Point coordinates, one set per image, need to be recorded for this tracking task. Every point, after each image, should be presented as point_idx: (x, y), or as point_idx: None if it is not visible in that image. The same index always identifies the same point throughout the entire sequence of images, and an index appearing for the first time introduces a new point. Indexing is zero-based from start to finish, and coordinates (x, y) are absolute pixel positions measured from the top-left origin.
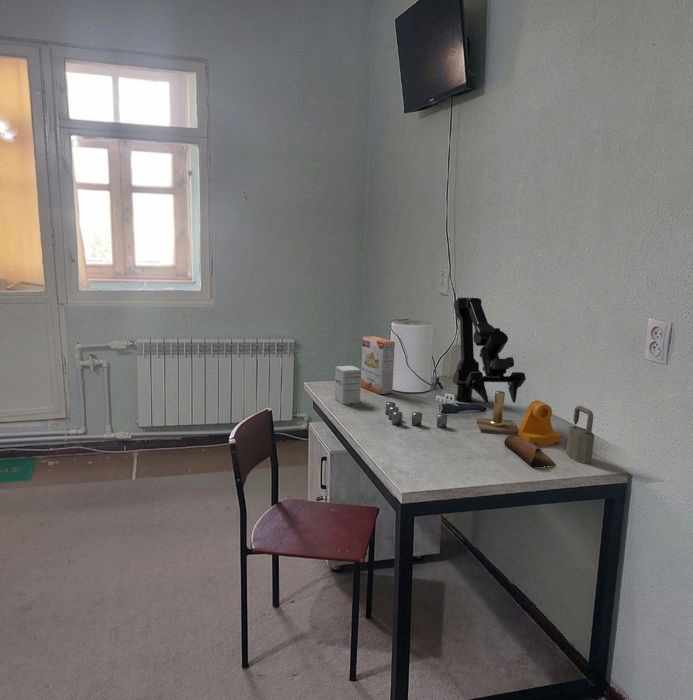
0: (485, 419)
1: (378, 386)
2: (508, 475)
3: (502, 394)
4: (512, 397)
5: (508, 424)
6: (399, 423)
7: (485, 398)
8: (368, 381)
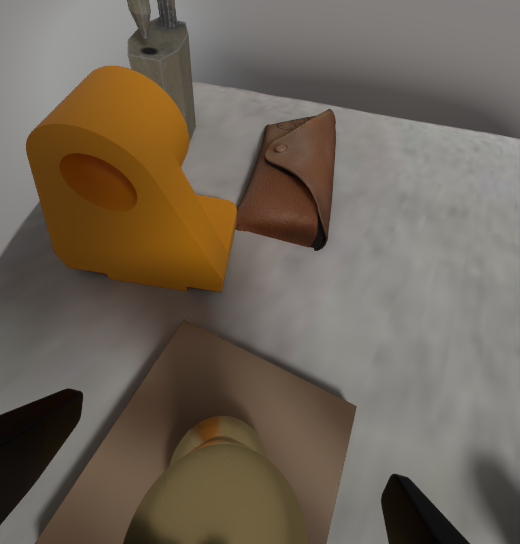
0: None
1: None
2: (394, 133)
3: (225, 444)
4: (18, 475)
5: (143, 453)
6: None
7: (439, 521)
8: None
